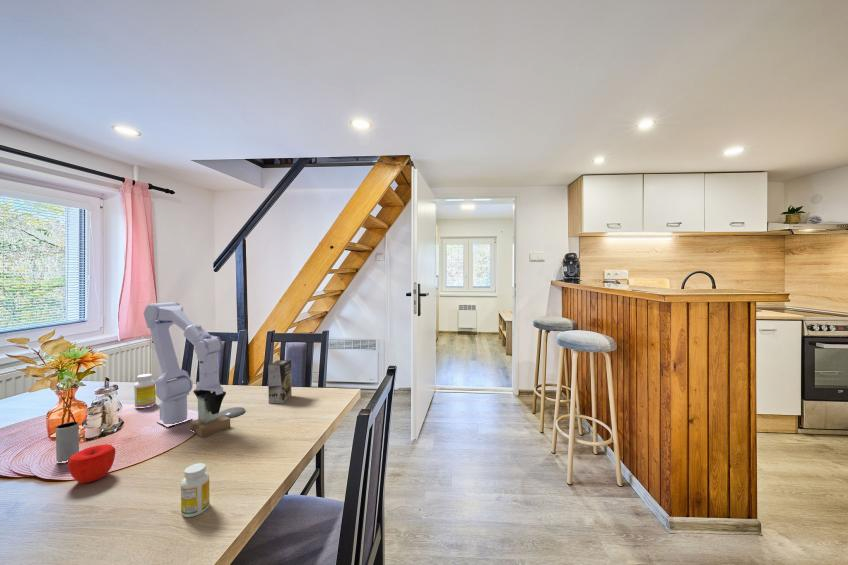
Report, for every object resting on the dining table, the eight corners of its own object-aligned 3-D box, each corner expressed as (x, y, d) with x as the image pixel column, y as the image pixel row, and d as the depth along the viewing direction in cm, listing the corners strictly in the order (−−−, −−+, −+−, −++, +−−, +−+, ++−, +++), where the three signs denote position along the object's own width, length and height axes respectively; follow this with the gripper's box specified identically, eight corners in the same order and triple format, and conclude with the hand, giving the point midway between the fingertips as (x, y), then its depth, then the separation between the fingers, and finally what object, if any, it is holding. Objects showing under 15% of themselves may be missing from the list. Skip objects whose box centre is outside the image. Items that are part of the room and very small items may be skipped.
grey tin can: (82, 457, 99) (81, 422, 99) (62, 465, 95) (61, 429, 94) (73, 454, 100) (72, 420, 100) (52, 462, 96) (51, 427, 96)
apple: (73, 494, 82) (72, 462, 82) (63, 482, 87) (62, 452, 86) (121, 475, 89) (120, 446, 89) (109, 466, 94) (108, 438, 94)
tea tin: (198, 421, 116) (197, 396, 115) (212, 416, 120) (212, 392, 119) (204, 424, 113) (204, 398, 113) (219, 419, 117) (218, 394, 117)
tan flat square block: (189, 430, 115) (189, 421, 115) (217, 420, 123) (217, 412, 123) (202, 437, 111) (202, 428, 111) (230, 426, 118) (230, 418, 118)
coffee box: (283, 403, 140) (282, 365, 139) (268, 403, 140) (267, 365, 139) (292, 395, 149) (291, 359, 148) (277, 395, 149) (277, 359, 148)
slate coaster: (213, 414, 128) (213, 413, 128) (237, 407, 136) (237, 405, 136) (225, 420, 124) (225, 418, 124) (249, 411, 131) (249, 410, 131)
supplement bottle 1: (158, 405, 139) (157, 374, 138) (138, 410, 133) (137, 378, 133) (152, 402, 142) (151, 372, 142) (132, 407, 137) (131, 376, 136)
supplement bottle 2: (185, 521, 72) (184, 478, 72) (178, 510, 76) (177, 468, 76) (213, 508, 77) (212, 466, 76) (205, 498, 80) (204, 458, 80)
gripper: (186, 372, 117) (187, 410, 117) (206, 378, 109) (207, 419, 109) (208, 367, 123) (209, 403, 123) (229, 373, 115) (229, 412, 115)
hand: (209, 411), depth 117 cm, fingers open, 7 cm apart
